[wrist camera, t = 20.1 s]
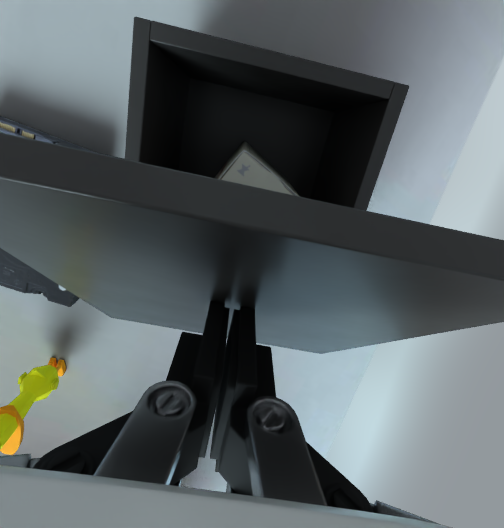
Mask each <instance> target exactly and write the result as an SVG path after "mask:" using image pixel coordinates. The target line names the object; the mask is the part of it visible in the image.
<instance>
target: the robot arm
mask: <svg viewBox="0 0 504 528" xmlns="http://www.w3.org/2000/svg"><path fill="white" fill-rule="evenodd" d="M224 306H225V303H219V302H214V301H210V305H209V310H208V314H207V318H206V323H205V327H204V332H203V335H198V334H192V333H187V332H182V334H181V337H180V340H179V343H178V346H177V349H176V352H175V355H174V358H173V361H172V364H171V367H170V370H169V373H168V376H167V379H166V381H162V382H159V383H156V384H154V385H153V386H151V387H149V388H148V389H147V391H146V392H145V393H144V394H143V396H142V398H141V399H140V401H139V402H138V404H137V406H136V407H135V409H134V410H133V411H132V412H130V413H128V414H126V415H124V416H122V417H119V418H117V419H115V420H113V421H111V422H109V423H107V424H105V425H103V426H101V427H99V428H97V429H95V430H92V431H90V432H88V433H86V434H84V435H82V436H80V437H78V438H76V439H74V440H72V441H70V442H67V443H65V444H63V445H61V446H59V447H57V448H55V449H53V450H52V451H50V452H49V453H47V454H45V455H44V456H43V457H42V458H34V459H31V454H22V455H8V456H0V528H451V527H448V526H444V525H441V524H438V523H435V522H433V521H430V520H427V519H425V518H422V517H419V516H417V515H414V514H411V513H409V512H406V511H403V510H401V509H398V508H395V507H393V506H390V505H387V504H385V503H382V502H379V501H376V502H375V504H371V503H369V501H368V500H367V498H366V497H365V496H364V495H363V494H362V493H361V491H360V490H358V489H357V488H356V487H355V486H354V485H353V484H352V483H351V482H350V481H349V480H348V479H346V478H345V477H344V476H343V475H342V474H341V473H340V472H339V471H338V470H337V469H335V468H334V467H333V466H332V465H331V464H330V463H329V462H328V461H327V460H326V459H325V458H323V457H322V456H321V455H320V454H319V453H318V452H317V451H316V450H315V449H314V448H312V447H311V446H310V445H309V444H308V443H307V442H306V441H305V438H304V435H303V432H302V429H301V426H300V423H299V420H298V417H297V415H296V413H295V411H294V410H293V409H292V407H291V406H290V405H289V404H287V403H286V402H284V401H283V400H281V399H279V398H276V392H275V382H274V373H273V363H272V353H271V348H270V347H268V346H262V345H256V324H255V309H252V308H247V307H240V309H239V310H237V309H234V312H233V316H232V320H231V325H230V330H229V334H228V339H227V329H228V320H229V311H230V308H226V307H224ZM226 339H227V343H226ZM215 409H216V411H215ZM214 414H215V420H214V428H213V437H212V445H211V453H210V459H216V469H215V472H219V473H220V474H221V475H222V476H223V478H224V479H225V480H226V481H227V487H226V492H218V491H210V490H203V489H195V488H187V487H180V485H181V480H182V478H184V477H185V476H186V475H188V474H189V473H191V472H192V471H193V470H195V469H196V467H197V463H198V458H199V457H203V458H204V457H205V454H206V449H207V445H208V440H209V436H210V431H211V427H212V423H213V418H214Z"/></svg>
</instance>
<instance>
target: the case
mask: <svg viewBox="0 0 504 528" xmlns="http://www.w3.org/2000/svg"><path fill="white" fill-rule="evenodd" d="M408 89H409V86H408V85H404V84H400V83H397V82H395V83H394V82H393V81H389V80H385V79H381V78H377V77H373V76H369V75H365V74H361V73H357V72H353V71H349V70H345V69H341V68H338V67H334V66H330V65H326V64H322V63H318V62H314V61H310V60H306V59H302V58H298V57H294V56H290V55H286V54H282V53H278V52H274V51H270V50H266V49H262V48H258V47H254V46H250V45H246V44H243V43H239V42H235V41H231V40H227V39H223V38H219V37H215V36H211V35H207V34H203V33H199V32H195V31H191V30H187V29H183V28H179V27H175V26H171V25H167V24H163V23H159V22H155V21H150V20H147V19H143V18H139V17H134V27H133V43H132V58H131V74H130V89H129V105H128V120H127V135H126V151H125V159H127V160H132V161H136V162H141V163H146V164H150V165H155V166H160V167H164V168H169V169H173V170H178V171H183V172H187V173H192V174H197V175H201V176H206V177H211V178H215V176H216V175H217V174H218V172H219V171H220V170H221V168H222V167H223V166H224V164H225V163H226V162H227V161H228V159H229V158H230V157H231V156H232V155H233V153H234V152H235V151H236V150H237V149H238V148H239V146H240V145H241V144H242V143H243V142H244V141H245V142H247V143H248V144H249V145H250V146H251V147H253V148H254V149H255V150H256V151H257V152H258V153H259V154H261V155H262V156H263V157H264V158H265V159H266V160H267V161H268V162H270V163H271V164H272V165H273V166H274V167H275V168H276V169H277V170H278V171H279V172H280V173H281V174H282V175H283V176H284V177H285V178H286V179H287V180H288V182H289V183H290V184H291V186H292V187H293V188H294V190H295V191H296V192H297V194H298V195H299V196H300V197H304V198H309V199H313V200H318V201H322V202H327V203H332V204H336V205H341V206H346V207H350V208H355V209H360V210H364V211H366V210H367V207H368V204H369V201H370V198H371V195H372V193H373V190H374V187H375V184H376V181H377V178H378V175H379V172H380V170H381V167H382V164H383V161H384V158H385V155H386V152H387V149H388V146H389V144H390V141H391V138H392V135H393V132H394V129H395V126H396V123H397V121H398V118H399V115H400V112H401V109H402V106H403V103H404V100H405V97H406V95H407V92H408Z"/></svg>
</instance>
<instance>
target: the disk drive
mask: <svg viewBox="0 0 504 528" xmlns="http://www.w3.org/2000/svg"><path fill="white" fill-rule="evenodd" d="M0 132H1V133H6V134H10V135H15V136H20V137H24V138H29V139H34V140H38V141H43V142H48V143H52V144H57V145H62V146H66V147H71V148H76V149H80V150H85V151H90V152H94V151H91V150H88V149H86V148H83V147H80V146H78V145H75V144H73V143H70V142H68V141H65V140H62V139H59V138H57V137H54V136H52V135H49V134H46V133H44V132H41V131H39V130H36V129H33V128H31V127H28V126H25V125H23V124H20V123H17V122H15V121H12V120H10V119H7V118H4V117H1V116H0ZM94 153H96V152H94ZM0 285H1V286H4V287H7V288H10V289H14V290H16V291H19V292H23V293H34V294H41V293H43V295H44V296H45V297H47V299H48V301H52V302H55V303H58V304H62V305H65V306H68V307H71V306H72V305H73V304H74V303H76V301H77V300H78V299H79V297H78V296H76V295H74V294H73V293H71V292H70V291H68V290H66V289H65V288H63V287H62V286H60V285H58V284H57V283H55V282H54V281H52V280H51V279H49V278H47V277H46V276H44V275H43V274H41V273H39V272H38V271H36V270H35V269H33V268H31V267H30V266H28V265H27V264H25V263H24V262H22V261H20V260H19V259H17V258H16V257H14V256H12V255H11V254H9V253H8V252H6V251H4V250H3V249H1V248H0Z"/></svg>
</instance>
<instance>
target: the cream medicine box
mask: <svg viewBox="0 0 504 528" xmlns="http://www.w3.org/2000/svg"><path fill="white" fill-rule="evenodd" d="M215 179H220V180H225V181H229V182H234V183H239V184H243V185H248V186H253V187H257V188H262V189H267V190H271V191H276V192H281V193H285V194H290V195H295V196H299V195H298V194H297V192H296V191H295V190H294V188H293V187H292V186H291V184H290V183H289V182H288V180H287V179H286V178H285V177H284V176H283V175H282V174H281V173H280V172H279V171H278V170H277V169H276V168H275V167H274V166H273V165H272V164H271V163H270V162H268V161H267V160H266V159H265V158H264V157H263V156H262V155H261V154H259V153H258V152H257V151H256V150H255V149H254V148H253V147H251V146H250V145H249V144H248V143H247V142H245V141H244V142H243V143H242V144H241V145H240V146H239V148H238V149H237V150H236V151H235V152H234V153H233V155H232V156H231V157H230V158H229V159H228V161H227V162H226V163H225V164H224V166H223V167H222V168H221V170H220V171H219V172H218V174H217V175H216V176H215ZM299 197H300V196H299Z"/></svg>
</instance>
